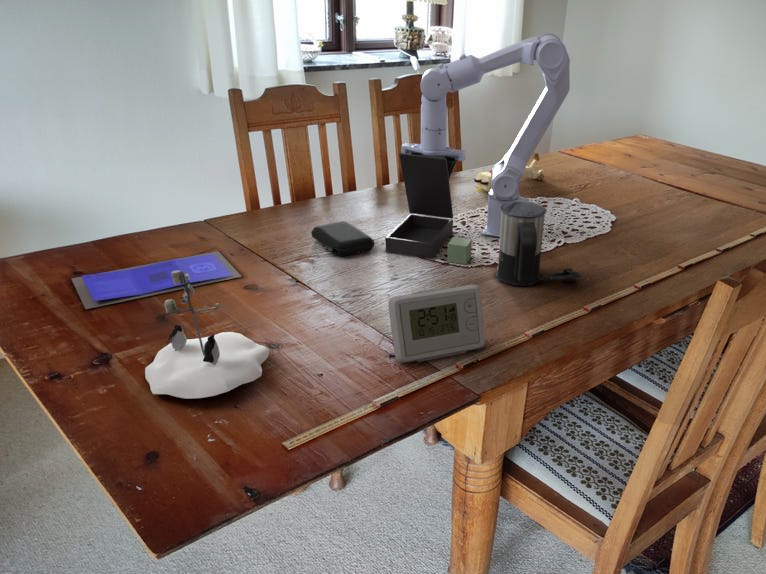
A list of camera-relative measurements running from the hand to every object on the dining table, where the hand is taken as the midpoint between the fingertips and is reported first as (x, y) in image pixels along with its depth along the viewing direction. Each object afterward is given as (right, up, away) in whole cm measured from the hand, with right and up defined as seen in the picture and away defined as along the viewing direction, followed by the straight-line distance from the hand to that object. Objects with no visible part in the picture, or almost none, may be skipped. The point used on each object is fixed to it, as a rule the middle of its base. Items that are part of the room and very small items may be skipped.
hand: (432, 188), depth 159 cm
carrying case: (-20, -14, -6) cm, 25 cm away
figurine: (-31, -42, -51) cm, 73 cm away
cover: (-1, -1, -5) cm, 5 cm away
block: (+6, -18, -10) cm, 21 cm away
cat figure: (+19, +10, +37) cm, 42 cm away
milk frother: (+23, -23, -17) cm, 37 cm away
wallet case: (-3, -13, -3) cm, 14 cm away
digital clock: (+4, -38, -43) cm, 58 cm away
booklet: (-52, -24, -24) cm, 62 cm away
